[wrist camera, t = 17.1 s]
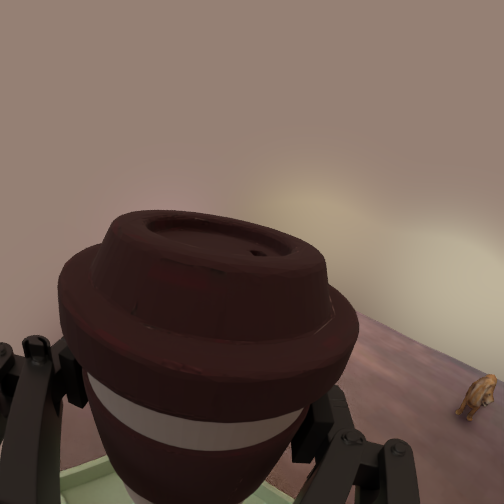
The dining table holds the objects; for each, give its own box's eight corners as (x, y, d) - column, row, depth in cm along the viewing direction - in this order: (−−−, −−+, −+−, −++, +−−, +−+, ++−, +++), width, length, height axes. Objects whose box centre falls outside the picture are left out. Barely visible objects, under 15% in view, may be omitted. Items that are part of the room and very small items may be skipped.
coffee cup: (70, 471, 10) (15, 204, 7) (171, 405, 19) (196, 201, 16) (210, 578, 6) (350, 376, 3) (290, 469, 15) (383, 254, 12)
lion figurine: (469, 435, 28) (501, 391, 25) (447, 421, 32) (475, 376, 30) (487, 400, 36) (510, 362, 34) (469, 389, 40) (490, 351, 38)
